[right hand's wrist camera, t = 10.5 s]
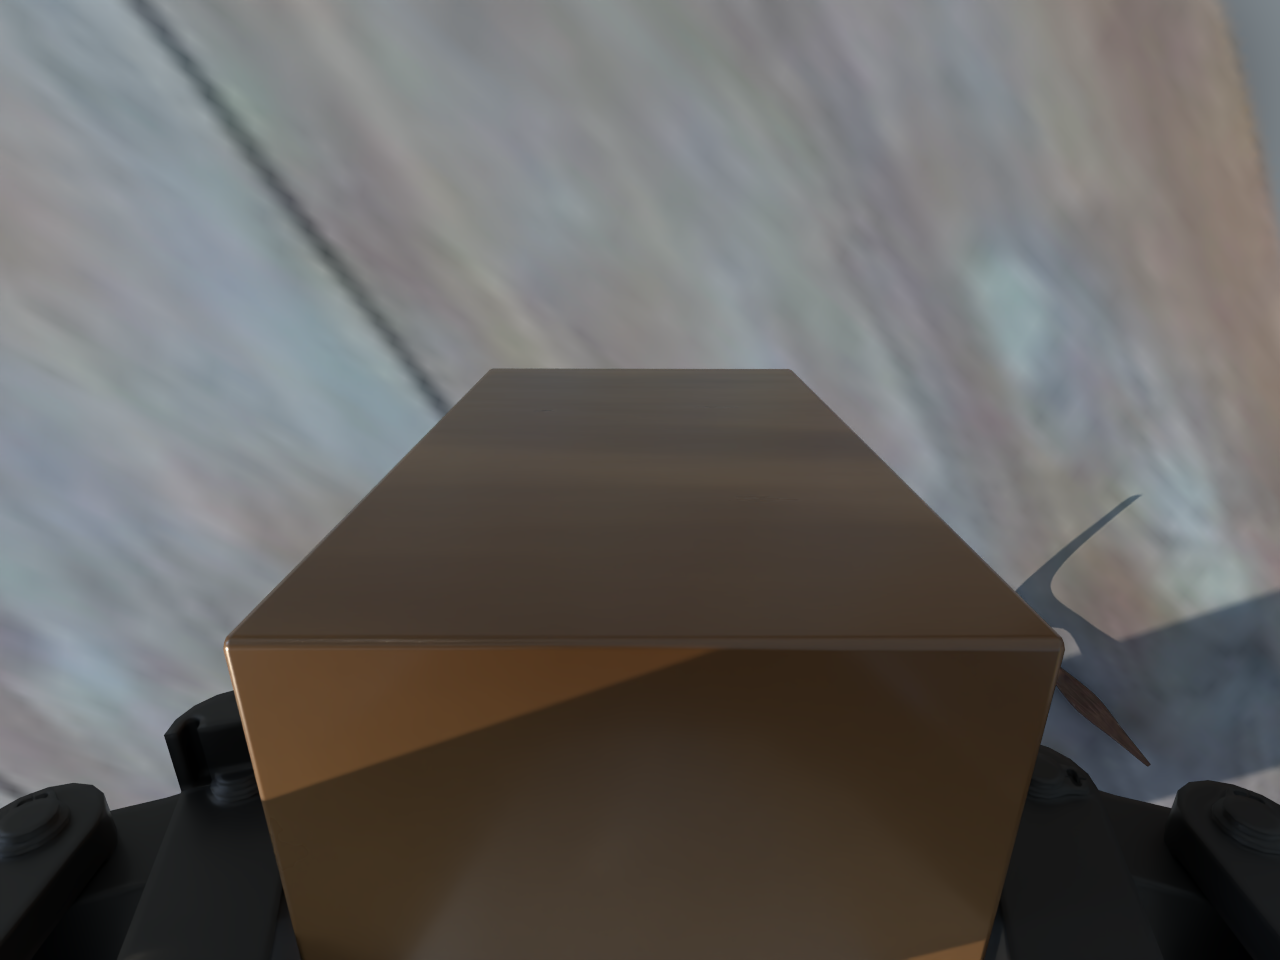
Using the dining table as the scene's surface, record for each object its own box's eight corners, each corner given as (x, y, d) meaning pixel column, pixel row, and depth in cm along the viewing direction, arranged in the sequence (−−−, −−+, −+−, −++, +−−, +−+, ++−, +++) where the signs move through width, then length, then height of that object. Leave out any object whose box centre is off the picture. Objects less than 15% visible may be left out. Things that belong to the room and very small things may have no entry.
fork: (1120, 772, 36) (1146, 802, 34) (931, 587, 32) (948, 610, 30) (1164, 743, 35) (1193, 772, 34) (976, 551, 32) (997, 572, 30)
